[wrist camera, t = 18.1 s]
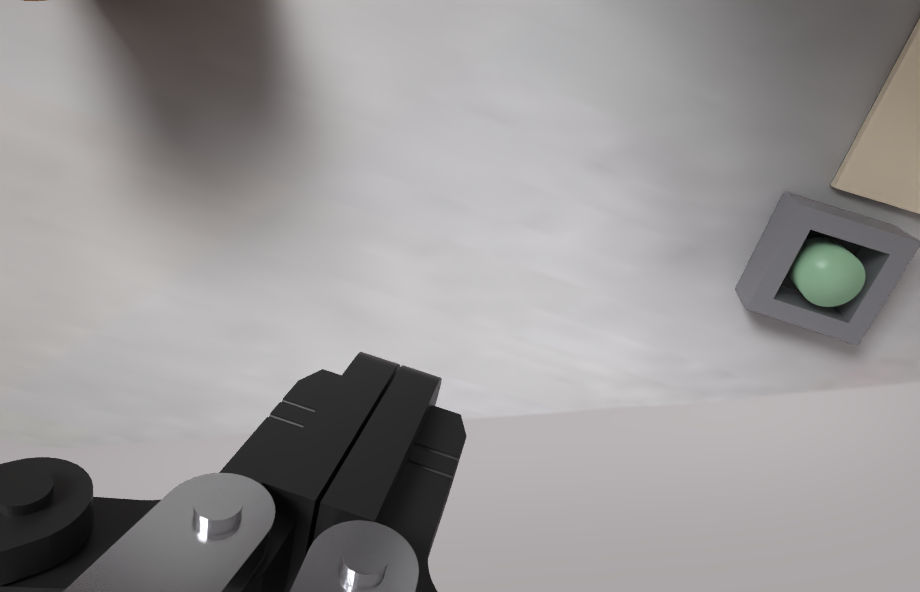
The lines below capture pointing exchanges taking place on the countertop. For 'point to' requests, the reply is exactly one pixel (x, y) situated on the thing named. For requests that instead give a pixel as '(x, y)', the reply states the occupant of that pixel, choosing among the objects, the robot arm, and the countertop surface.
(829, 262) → the button
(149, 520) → the robot arm
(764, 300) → the button housing
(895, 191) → the pad
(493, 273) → the countertop surface
